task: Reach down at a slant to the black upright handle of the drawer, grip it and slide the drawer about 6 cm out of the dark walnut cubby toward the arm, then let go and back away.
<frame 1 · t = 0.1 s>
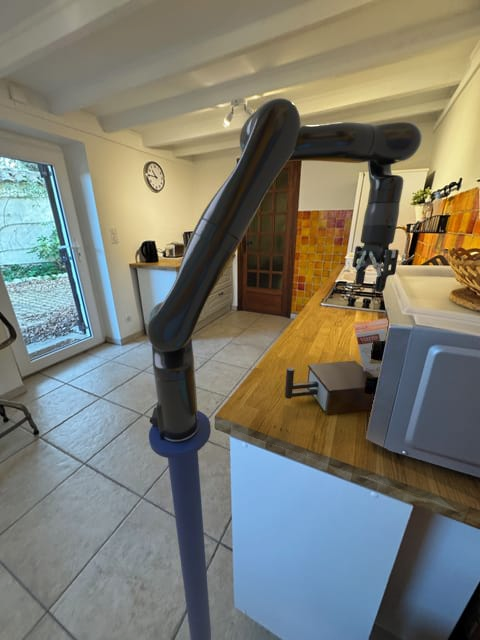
hand: (368, 287, 69), 32 cm above the table, tool pointing down, fingers open, 8 cm apart
drawer: (324, 382, 72), point 5 cm above the table, slide at 0.0 cm
cubby: (340, 396, 75), on the table
cracker box: (392, 383, 76), point 3 cm above the table, touching cubby
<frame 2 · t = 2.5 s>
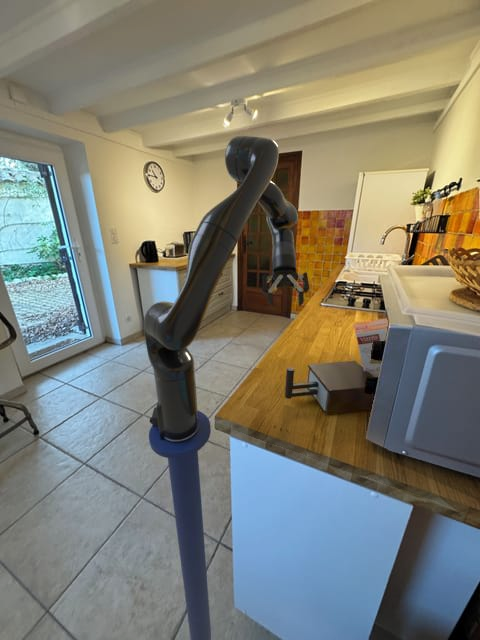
hand: (286, 305, 77), 25 cm above the table, tool tilted 40°, fingers open, 8 cm apart
nothing on the table moved.
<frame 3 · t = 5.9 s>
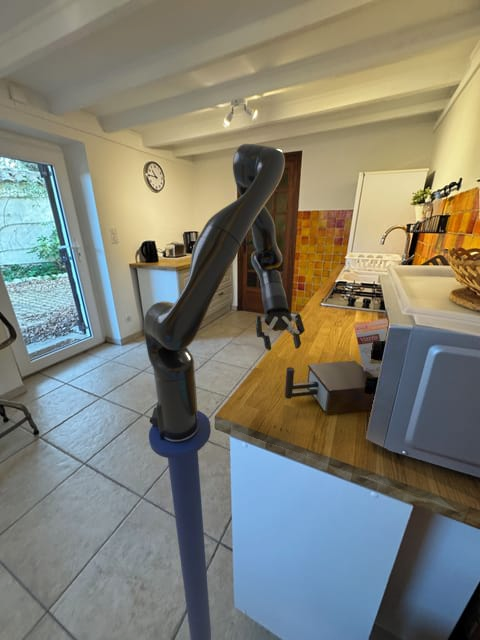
hand: (283, 348, 74), 14 cm above the table, tool tilted 45°, fingers open, 8 cm apart
nothing on the table moved.
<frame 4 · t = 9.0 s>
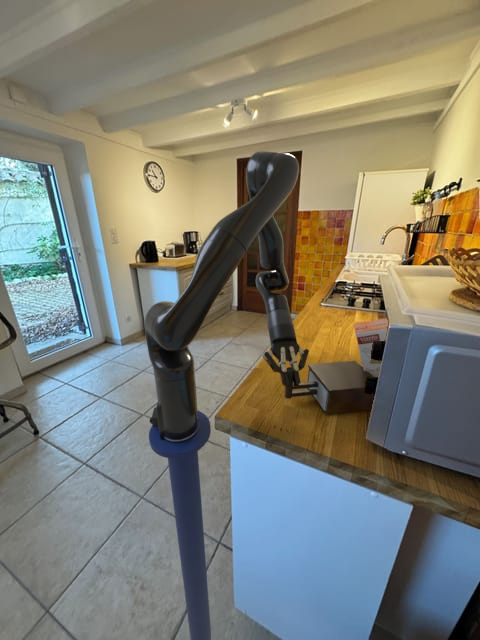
hand: (292, 386, 68), 7 cm above the table, tool tilted 45°, fingers closed on drawer, 2 cm apart
drawer: (324, 382, 72), point 5 cm above the table, slide at 0.0 cm, touching gripper
everything else where it was.
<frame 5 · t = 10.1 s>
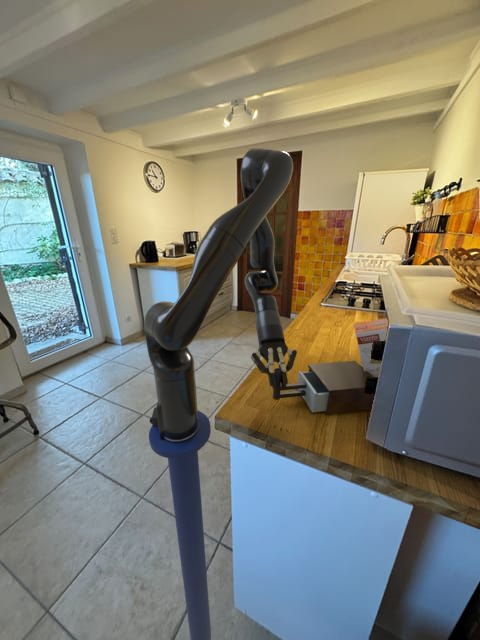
hand: (279, 387, 68), 7 cm above the table, tool tilted 45°, fingers closed on drawer, 2 cm apart
drawer: (313, 383, 72), point 5 cm above the table, slide at 3.6 cm, touching gripper
everything else where it was.
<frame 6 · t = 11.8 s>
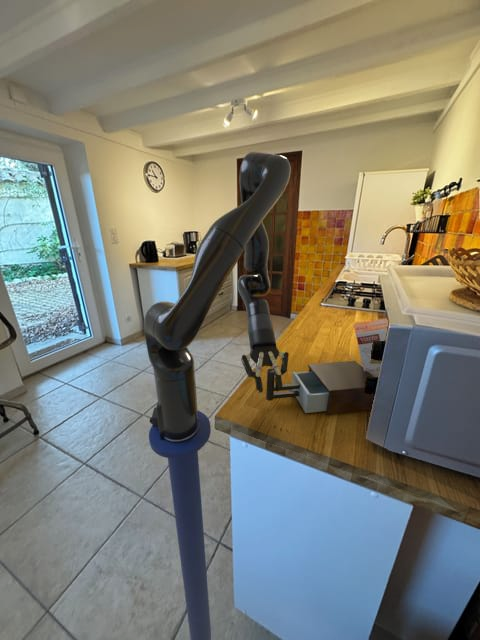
hand: (270, 390, 68), 6 cm above the table, tool tilted 45°, fingers open, 4 cm apart
drawer: (306, 383, 71), point 5 cm above the table, slide at 5.4 cm
everything else where it was.
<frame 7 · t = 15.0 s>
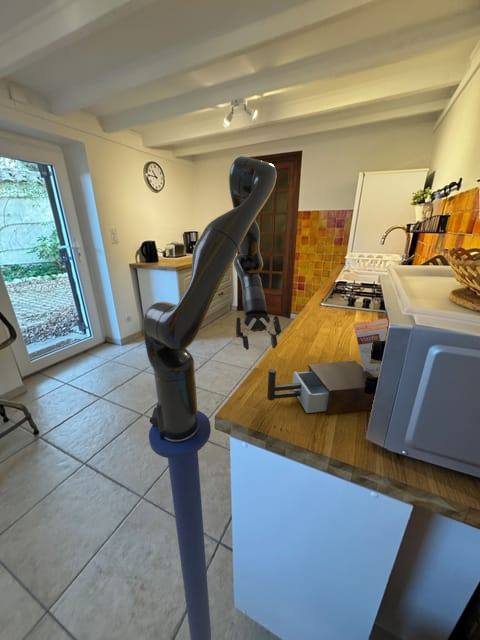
hand: (261, 348, 78), 12 cm above the table, tool tilted 45°, fingers open, 8 cm apart
drawer: (307, 383, 71), point 5 cm above the table, slide at 5.1 cm
everything else where it was.
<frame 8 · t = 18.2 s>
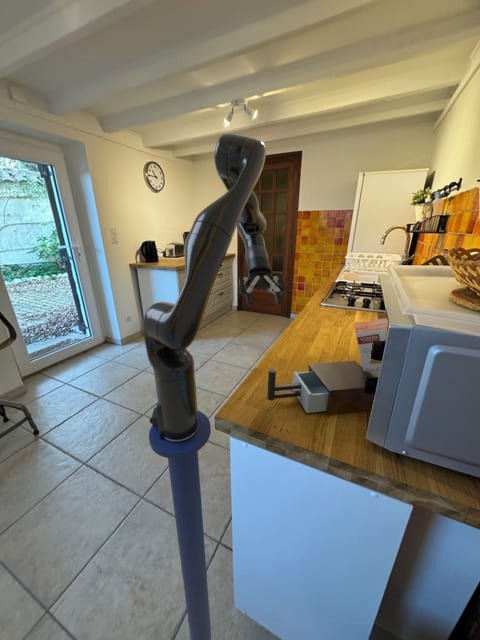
hand: (264, 305, 77), 25 cm above the table, tool tilted 45°, fingers open, 8 cm apart
nothing on the table moved.
at the end: drawer slide at 5.1 cm; the gripper is holding nothing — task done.
